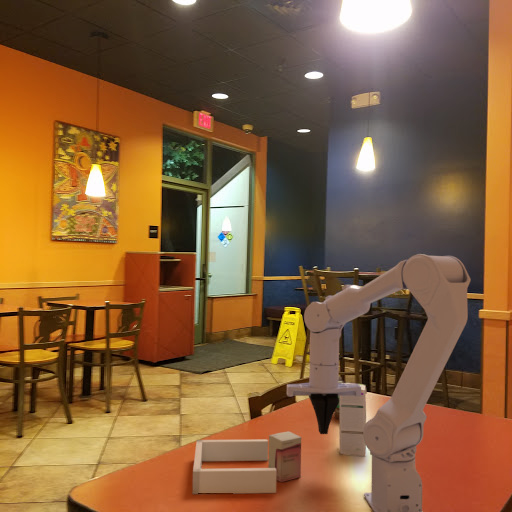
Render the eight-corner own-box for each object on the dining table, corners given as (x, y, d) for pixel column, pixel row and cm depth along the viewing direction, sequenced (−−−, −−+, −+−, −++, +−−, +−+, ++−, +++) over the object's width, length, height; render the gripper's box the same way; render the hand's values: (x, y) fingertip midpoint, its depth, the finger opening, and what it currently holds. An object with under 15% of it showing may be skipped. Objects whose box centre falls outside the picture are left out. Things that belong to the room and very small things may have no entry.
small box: (280, 483, 95) (281, 441, 95) (267, 475, 99) (268, 434, 99) (301, 477, 98) (302, 436, 98) (288, 469, 101) (288, 430, 102)
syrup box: (366, 457, 109) (366, 389, 109) (338, 454, 110) (339, 387, 111) (365, 447, 115) (366, 383, 115) (339, 445, 116) (340, 382, 116)
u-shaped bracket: (276, 492, 91) (276, 470, 91) (192, 494, 90) (192, 471, 90) (267, 458, 107) (267, 439, 107) (196, 459, 106) (196, 439, 106)
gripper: (354, 359, 104) (353, 425, 103) (285, 359, 103) (283, 426, 102) (364, 366, 97) (363, 437, 96) (289, 366, 96) (288, 438, 95)
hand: (323, 432), depth 99 cm, fingers closed
